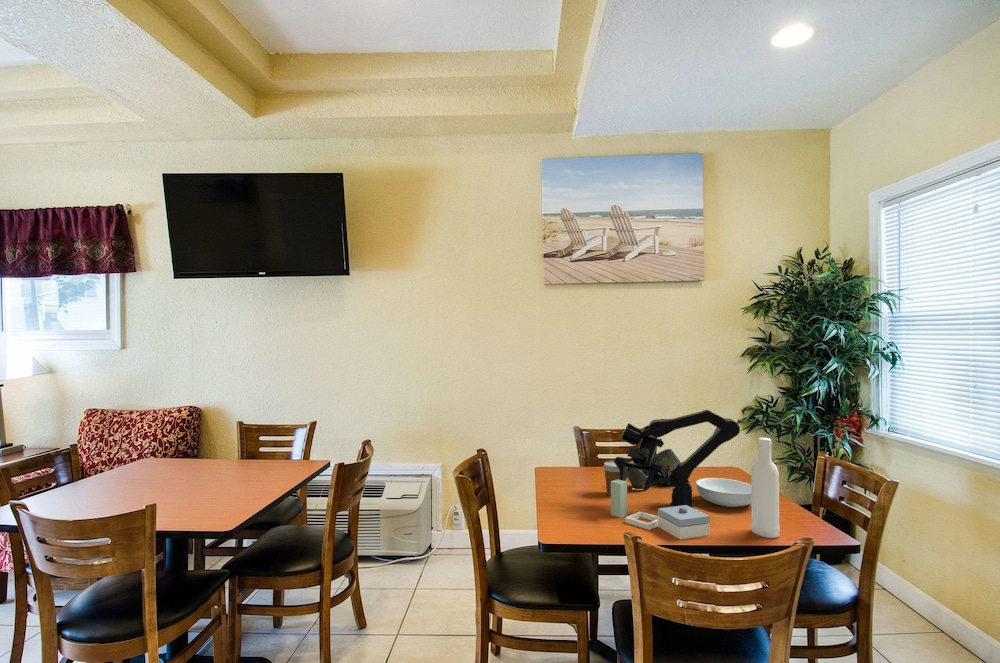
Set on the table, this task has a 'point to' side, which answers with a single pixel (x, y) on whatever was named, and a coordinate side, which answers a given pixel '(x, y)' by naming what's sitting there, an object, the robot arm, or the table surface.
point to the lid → (683, 515)
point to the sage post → (619, 498)
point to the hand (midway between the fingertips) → (632, 488)
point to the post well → (633, 521)
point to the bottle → (765, 493)
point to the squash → (665, 462)
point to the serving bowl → (725, 491)
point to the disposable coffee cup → (611, 474)
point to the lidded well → (684, 529)
